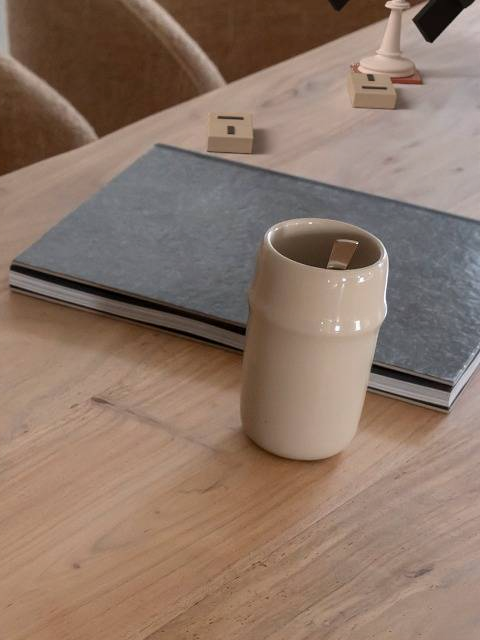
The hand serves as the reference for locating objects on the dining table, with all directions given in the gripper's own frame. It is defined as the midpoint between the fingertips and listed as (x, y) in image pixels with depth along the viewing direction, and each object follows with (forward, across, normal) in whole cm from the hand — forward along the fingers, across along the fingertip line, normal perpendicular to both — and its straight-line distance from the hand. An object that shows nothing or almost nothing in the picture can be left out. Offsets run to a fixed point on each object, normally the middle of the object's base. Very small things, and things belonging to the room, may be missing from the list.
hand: (373, 15), depth 129 cm
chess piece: (+2, 0, +5) cm, 6 cm away
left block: (+19, +13, -11) cm, 26 cm away
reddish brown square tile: (+2, 0, +5) cm, 6 cm away
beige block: (+6, +6, +1) cm, 9 cm away
